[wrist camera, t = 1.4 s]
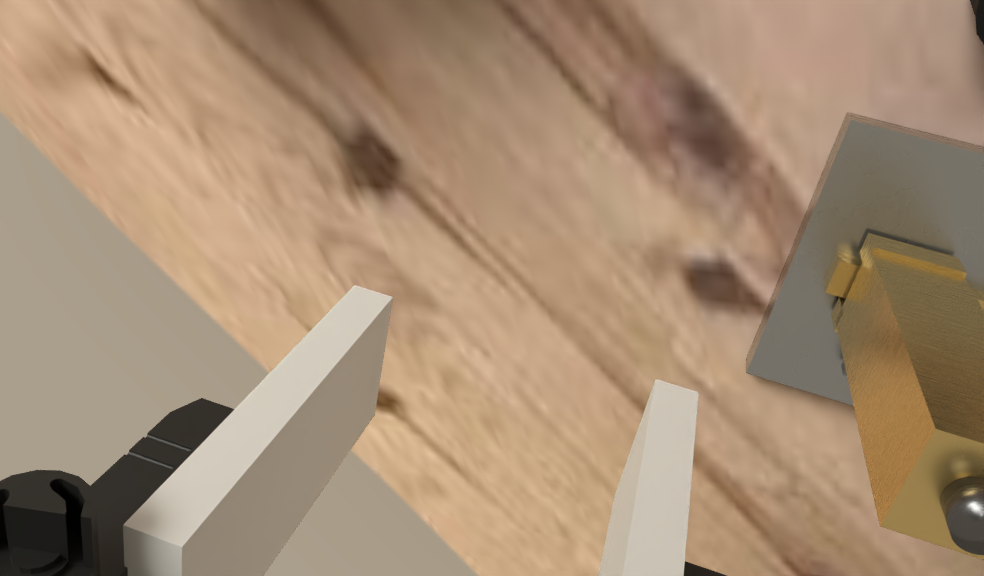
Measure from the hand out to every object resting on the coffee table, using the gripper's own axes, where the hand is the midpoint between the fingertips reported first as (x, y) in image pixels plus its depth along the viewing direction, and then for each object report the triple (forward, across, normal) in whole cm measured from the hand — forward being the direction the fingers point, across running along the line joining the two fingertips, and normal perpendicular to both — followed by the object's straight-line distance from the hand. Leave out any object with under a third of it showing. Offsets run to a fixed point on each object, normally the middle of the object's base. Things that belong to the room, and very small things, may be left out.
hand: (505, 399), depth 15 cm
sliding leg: (+21, +12, -5) cm, 25 cm away
